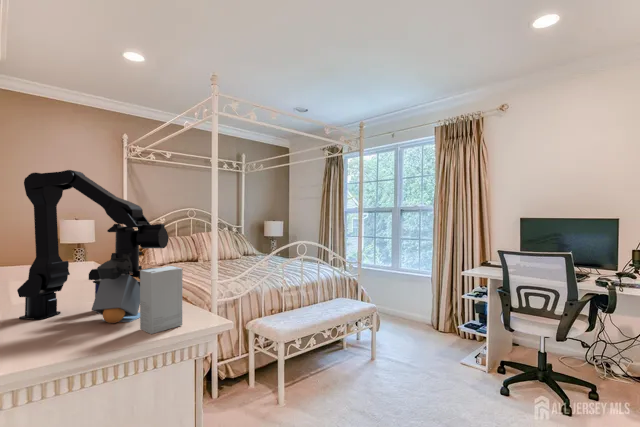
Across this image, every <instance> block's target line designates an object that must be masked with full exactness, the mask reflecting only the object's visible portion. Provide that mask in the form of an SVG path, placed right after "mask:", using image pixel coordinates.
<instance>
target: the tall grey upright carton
mask: <svg viewBox="0 0 640 427" xmlns="http://www.w3.org/2000/svg"><path fill="white" fill-rule="evenodd" d="M153 268H154V269H147V268H146V269H147V270H142V269H141V270H139V271H140V279H139V281H140V306H139V313H140V319H139V328H140V329H139V330H141V331H143V332H146V333H147V334H150V335H153V334H156V333H160V332H164V331H168V330H170V329H174V328H176V327H181V326H183V268H181V267H177V266H173V265H168V266H167V265H166V266H163V267H153Z"/></svg>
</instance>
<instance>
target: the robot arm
mask: <svg viewBox="0 0 640 427" xmlns="http://www.w3.org/2000/svg"><path fill="white" fill-rule="evenodd" d="M23 187H24V191H25V196H26V197H27V198H28V200H29V201H30V203H31V204H32V205H33V218H34V220H33V221H34V235H35V236H34V239H35V240H34V241H35V242H34V243H35V258H34V261H33V262H32V264H31V265H30V267H29V268H28V269H29V270H28V277H27V280H26V281H25V282H23V284H22V285H20V287H18V288H17V290H16V291H17V294H18V297H19V298H25V303H24V315H22V316H19V318H18V319H20V320H43V319H46V318H49V317H53V316H56V315H59V314H61V313H62V312H61V311H60V310H59V311H58V298H57V292H61V291H62V289H63V287H64V284H65V283H66V282H67V281H68V277H69V276H70V275H71V273H70V271H69V266H70V263H69V261H68V260H66V261H63V259H62V258H61V256H60V252H59V230H58V229H59V228H58V208H57V206H58V204H59V202H60V200H61V199H62V198H63V193H64V192H63V191H67V190H70V189H72V188H73V189H74V190H76V191H78V192H79V193H81V194H82V195H84V196H85V197H87V199H90V200H91V201H92V202H94V203H96V204H97V205H99V206H100V207H101V208H102V209H103V210H104V211H105V214H106V215H107V217H109V219H111V220H112V221H113V222H114V223H113V225H112V226H111V227H109V228H108V229H107V230H106V231H107V232H108V233H115V243H114V244H115V245H114V246H115V247H114V249H115V250H114V252H112V253H111V254H110V260H107V261H105V262H103V263H102V264H100V265H98V266H97V268H92V269H90V271H89V273H88V280H89V281H92V283H93V284H95V283H96V284H98V285H100V281H101V279H117V278H119V276H121V275H130V276H132V277H133V278H138V279H139V280H138V281H139V282H138V284H139V286H140V270H147V269H154V268H155V267H148V268H143V267H142V265H140V256H142V255H143V251H141V250H140V248H141V249H165V248H166V247H168V243H169V235H168V234H169V233H168V230H167V229H166V228H165V227H166V226H165V225H166V224H164V223H156V224H151V223H150V222H149V220H148V219H147V218H146V216H145V215H144V212H143V208H142V207H141V206H140V205H138V204H137V203H133V202H132V201H129V200H126V199H123V198H121V197H118V196H116V195H115V194H113V193H112V192H110V191H108V190H107V189H106V188H104V187H103V186H101V185H100V184H98V183H97V182H95V181H94V180H92V179H90V178H89V177H87V176H86V175H85V174H84V173H83V172H81V171H77V170H71V169H66V170H62V171H52V172H44V173H41V172H31V173H29V174H28V175H27V176H26V177H25V178H24V180H23ZM123 225H124V226H123ZM135 228H136V229H135ZM142 268H143V269H142Z"/></svg>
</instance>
